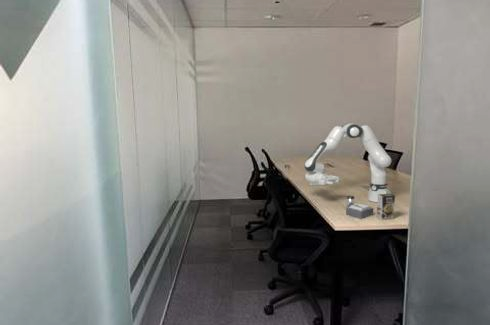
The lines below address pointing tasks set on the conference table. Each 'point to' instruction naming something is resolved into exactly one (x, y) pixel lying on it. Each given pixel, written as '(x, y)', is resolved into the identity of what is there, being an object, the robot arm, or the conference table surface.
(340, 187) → the conference table surface
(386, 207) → the coffee box
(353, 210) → the grey white square holder
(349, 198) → the glass jar
